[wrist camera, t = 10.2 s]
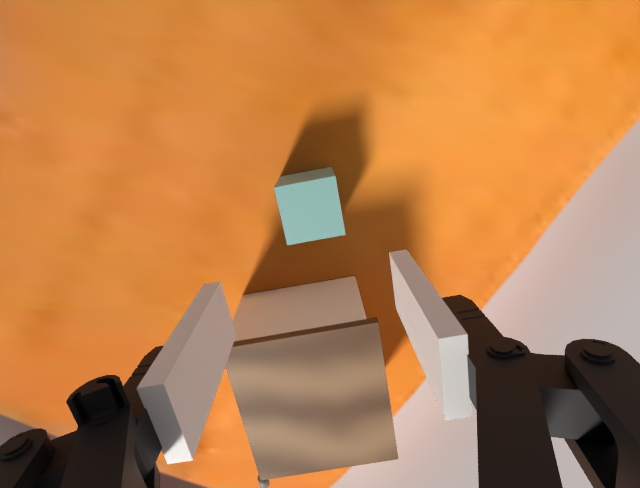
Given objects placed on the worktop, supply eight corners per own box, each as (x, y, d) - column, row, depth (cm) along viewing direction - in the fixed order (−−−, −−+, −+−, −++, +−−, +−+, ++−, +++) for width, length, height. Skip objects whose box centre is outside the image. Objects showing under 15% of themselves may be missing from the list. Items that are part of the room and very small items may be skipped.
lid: (222, 343, 31) (220, 349, 30) (376, 317, 30) (378, 322, 30) (261, 472, 35) (260, 480, 35) (396, 451, 35) (398, 458, 34)
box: (234, 283, 39) (210, 335, 30) (352, 262, 39) (365, 309, 29) (270, 411, 44) (259, 489, 35) (374, 394, 44) (390, 469, 35)
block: (280, 176, 36) (274, 187, 30) (331, 166, 35) (335, 175, 30) (291, 225, 37) (287, 245, 32) (340, 216, 37) (345, 234, 31)
